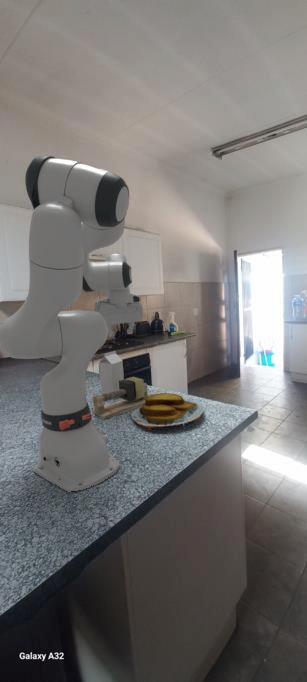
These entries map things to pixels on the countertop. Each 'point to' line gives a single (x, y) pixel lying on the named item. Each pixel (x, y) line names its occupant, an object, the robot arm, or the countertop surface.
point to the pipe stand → (115, 403)
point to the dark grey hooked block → (129, 387)
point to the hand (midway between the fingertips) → (121, 335)
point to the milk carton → (110, 372)
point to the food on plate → (166, 411)
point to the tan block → (137, 387)
